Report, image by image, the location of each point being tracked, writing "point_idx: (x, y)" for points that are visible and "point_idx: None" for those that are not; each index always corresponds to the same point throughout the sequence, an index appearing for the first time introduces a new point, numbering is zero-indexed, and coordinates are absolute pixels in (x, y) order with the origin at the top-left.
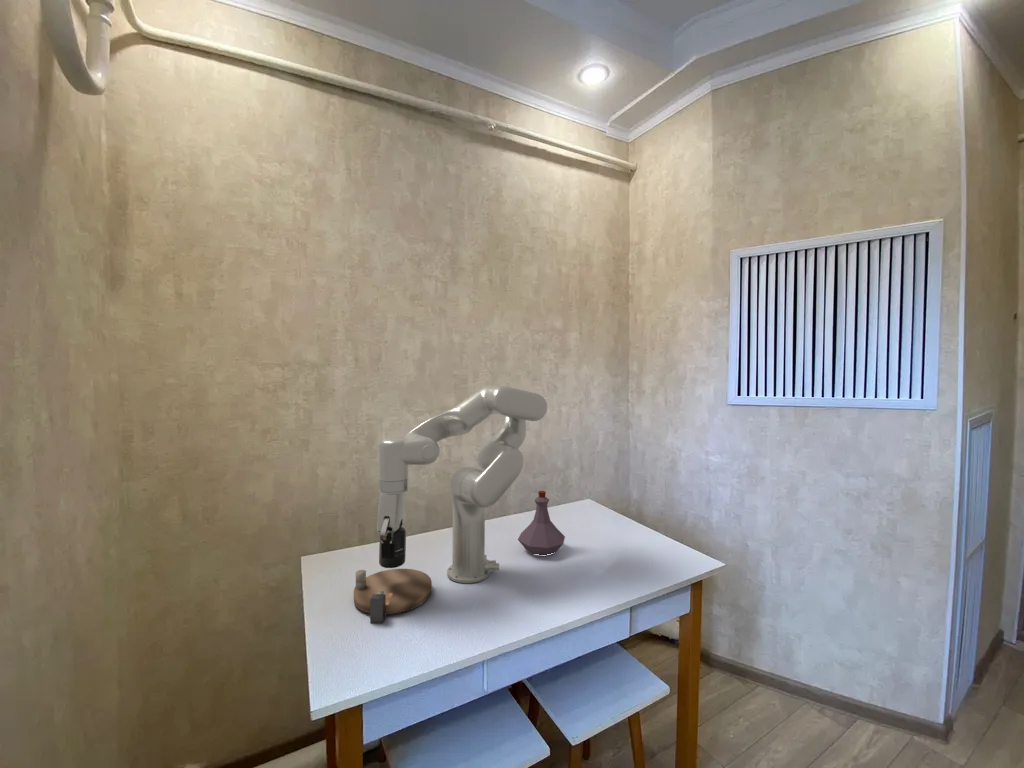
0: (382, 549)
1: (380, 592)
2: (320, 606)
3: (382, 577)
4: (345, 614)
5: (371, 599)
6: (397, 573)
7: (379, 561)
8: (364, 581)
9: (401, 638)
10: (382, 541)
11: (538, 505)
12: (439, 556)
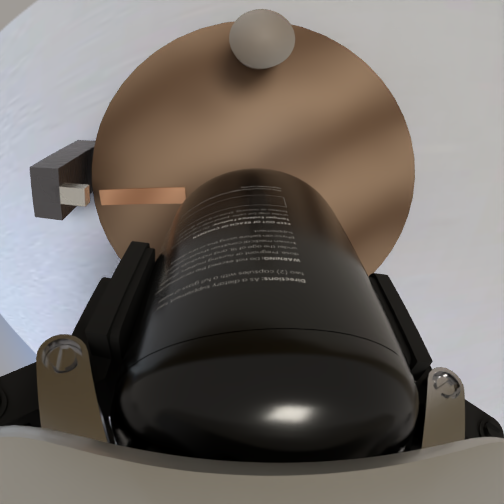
0: (110, 288)
1: (72, 195)
2: None
3: (345, 134)
4: (131, 32)
5: (33, 170)
6: (370, 197)
7: (210, 183)
8: (244, 64)
9: (35, 243)
10: (42, 361)
11: None
12: (482, 294)
